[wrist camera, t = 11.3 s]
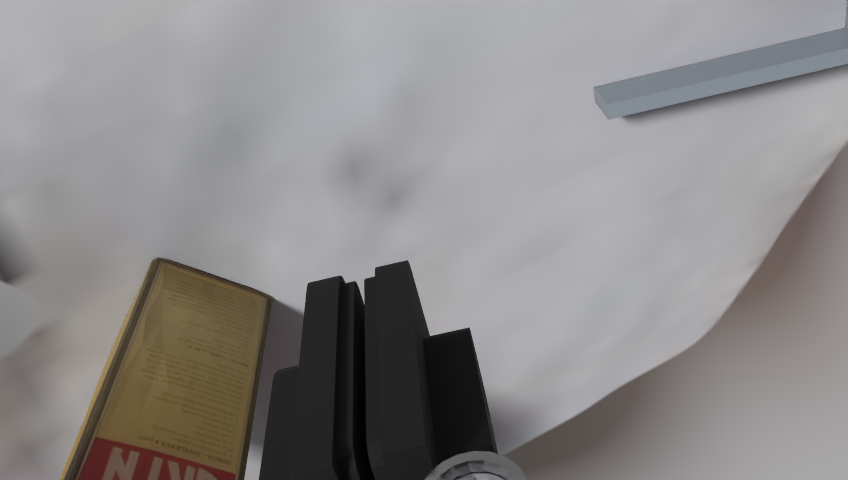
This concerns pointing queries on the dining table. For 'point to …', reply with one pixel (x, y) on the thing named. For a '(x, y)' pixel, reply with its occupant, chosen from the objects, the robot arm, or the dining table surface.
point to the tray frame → (724, 74)
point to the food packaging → (177, 383)
